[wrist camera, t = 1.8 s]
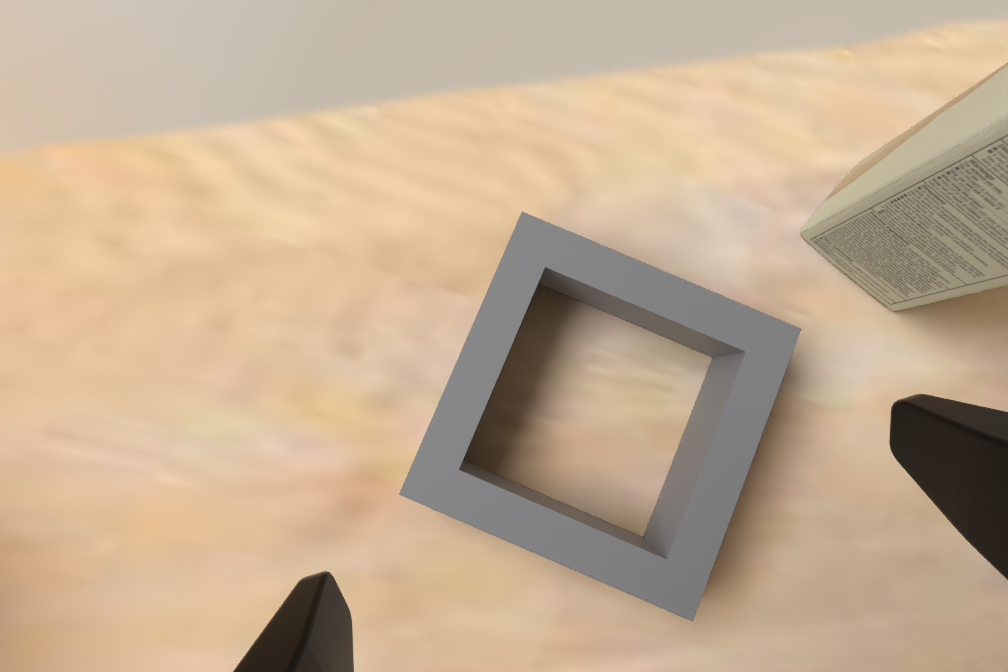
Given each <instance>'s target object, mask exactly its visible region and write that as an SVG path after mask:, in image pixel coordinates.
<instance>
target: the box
mask: <svg viewBox="0 0 1008 672" xmlns="http://www.w3.org/2000/svg"><path fill="white" fill-rule="evenodd" d="M800 234H801V236H802V237H803V238H804V239H805V240H806V241H807V242H808V243H810V244H811V245H812V246H813V247H814V248H815V249H816V250H817V251H818V252H820V253H821V254H822V255H823V256H824V257H825V258H827V259H828V260H829V261H830V262H831V263H833V264H834V265H835V266H836V267H838V268H839V269H840V270H841V271H843V272H844V273H845V274H847V275H848V276H849V277H850V278H851V279H853V280H854V281H855V282H856V283H857V284H859V285H860V286H861V287H862V288H864V289H865V290H866V291H867V292H868V293H870V294H871V295H873V296H874V297H875V298H877V299H878V300H879V301H881V302H882V303H883V304H884V305H886V306H887V307H888V308H890V309H891V310H892V311H900V310H904V309H909V308H913V307H917V306H922V305H927V304H931V303H935V302H939V301H943V300H948V299H952V298H956V297H960V296H964V295H969V294H973V293H978V292H982V291H986V290H991V289H995V288H1000V287H1004V286H1008V63H1007V64H1005V65H1004V66H1002V67H1001V68H999V69H998V70H996V71H995V72H993V73H992V74H990V75H989V76H987V77H986V78H984V79H983V80H981V81H980V82H978V83H977V84H975V85H974V86H972V87H971V88H969V89H968V90H966V91H965V92H963V93H962V94H961V95H959V96H958V97H956V98H955V99H953V100H952V101H950V102H949V103H947V104H946V105H944V106H943V107H941V108H940V109H938V110H937V111H935V112H934V113H932V114H931V115H929V116H928V117H926V118H925V119H923V120H922V121H920V122H919V123H917V124H916V125H914V126H913V127H911V128H910V129H908V130H907V131H905V132H904V133H902V134H901V135H899V136H898V137H896V138H894V139H893V140H891V141H890V142H889V143H887V144H886V145H884V146H883V147H881V148H880V149H878V150H877V151H875V152H874V153H872V154H871V155H869V156H868V157H866V158H865V159H863V160H862V161H860V162H859V163H858V164H857V166H856V167H855V168H854V169H853V170H852V171H851V172H850V173H849V174H848V175H847V176H846V177H845V178H844V180H843V181H842V182H841V183H840V184H839V185H838V186H837V187H836V188H835V190H834V191H833V192H832V193H831V194H830V195H829V196H828V198H827V199H826V200H825V201H824V202H823V203H822V205H821V206H820V207H819V208H818V209H817V211H816V212H815V213H814V214H813V215H812V217H811V218H810V219H809V220H808V221H807V223H806V224H805V225H804V226H803V228H802V229H801V231H800Z"/></svg>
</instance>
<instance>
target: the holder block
mask: <svg viewBox="0 0 1008 672" xmlns="http://www.w3.org/2000/svg"><path fill="white" fill-rule="evenodd" d="M538 284H541V285H543V286H545V287H548V288H550V289H552V290H555V291H557V292H560V293H562V294H564V295H567V296H569V297H571V298H574V299H576V300H578V301H581V302H583V303H586V304H588V305H590V306H593V307H595V308H597V309H600V310H602V311H604V312H607V313H609V314H612V315H614V316H616V317H619V318H621V319H623V320H626V321H628V322H630V323H633V324H635V325H638V326H640V327H642V328H645V329H647V330H649V331H652V332H654V333H656V334H659V335H661V336H664V337H666V338H668V339H671V340H673V341H675V342H678V343H680V344H682V345H685V346H687V347H690V348H692V349H694V350H697V351H699V352H701V353H704V354H706V355H709V356H711V357H713V358H712V361H711V364H710V366H709V369H708V371H707V374H706V377H705V379H704V382H703V384H702V387H701V390H700V392H699V395H698V397H697V400H696V402H695V405H694V408H693V410H692V413H691V415H690V418H689V421H688V423H687V426H686V428H685V431H684V434H683V436H682V439H681V441H680V444H679V446H678V449H677V452H676V454H675V457H674V459H673V462H672V465H671V467H670V470H669V472H668V475H667V478H666V480H665V483H664V485H663V488H662V490H661V493H660V496H659V498H658V501H657V503H656V506H655V509H654V511H653V514H652V516H651V519H650V522H649V524H648V527H647V529H646V532H645V534H644V537H641V536H639V535H636V534H634V533H632V532H629V531H627V530H625V529H622V528H620V527H618V526H615V525H613V524H611V523H608V522H606V521H604V520H601V519H599V518H597V517H594V516H592V515H590V514H587V513H585V512H583V511H580V510H578V509H576V508H574V507H571V506H569V505H567V504H564V503H562V502H560V501H557V500H555V499H553V498H550V497H548V496H546V495H543V494H541V493H539V492H536V491H534V490H532V489H529V488H527V487H525V486H522V485H520V484H518V483H515V482H513V481H511V480H509V479H506V478H504V477H502V476H499V475H497V474H495V473H492V472H490V471H488V470H485V469H483V468H481V467H478V466H476V465H474V464H471V463H469V462H467V461H464V460H463V459H464V457H465V454H466V452H467V450H468V447H469V445H470V442H471V440H472V438H473V435H474V433H475V431H476V428H477V426H478V424H479V421H480V419H481V417H482V414H483V412H484V410H485V407H486V405H487V403H488V400H489V398H490V395H491V393H492V391H493V388H494V386H495V384H496V381H497V379H498V377H499V374H500V372H501V370H502V367H503V365H504V363H505V360H506V358H507V356H508V353H509V351H510V348H511V346H512V344H513V341H514V339H515V337H516V334H517V332H518V330H519V327H520V325H521V323H522V320H523V318H524V316H525V313H526V311H527V309H528V306H529V304H530V301H531V299H532V297H533V294H534V292H535V290H536V287H537V285H538ZM800 331H801V329H800V328H798V327H795V326H793V325H791V324H788V323H786V322H784V321H781V320H779V319H776V318H774V317H772V316H769V315H767V314H765V313H762V312H760V311H757V310H755V309H753V308H750V307H748V306H745V305H743V304H741V303H738V302H736V301H734V300H731V299H729V298H726V297H724V296H722V295H719V294H717V293H715V292H712V291H710V290H707V289H705V288H703V287H700V286H698V285H696V284H693V283H691V282H688V281H686V280H684V279H681V278H679V277H676V276H674V275H672V274H669V273H667V272H665V271H662V270H660V269H657V268H655V267H653V266H650V265H648V264H646V263H643V262H641V261H638V260H636V259H634V258H631V257H629V256H627V255H624V254H622V253H619V252H617V251H615V250H612V249H610V248H607V247H605V246H603V245H600V244H598V243H596V242H593V241H591V240H588V239H586V238H584V237H581V236H579V235H577V234H574V233H572V232H569V231H567V230H565V229H562V228H560V227H558V226H555V225H553V224H550V223H548V222H546V221H543V220H541V219H539V218H536V217H534V216H531V215H529V214H527V213H524V212H522V213H521V215H520V217H519V220H518V222H517V224H516V227H515V229H514V231H513V233H512V236H511V238H510V240H509V243H508V245H507V247H506V250H505V252H504V254H503V256H502V259H501V261H500V263H499V266H498V268H497V270H496V273H495V275H494V277H493V279H492V282H491V284H490V286H489V289H488V291H487V293H486V296H485V298H484V300H483V302H482V305H481V307H480V309H479V312H478V314H477V316H476V319H475V321H474V323H473V325H472V328H471V330H470V332H469V335H468V337H467V339H466V342H465V344H464V346H463V348H462V351H461V353H460V355H459V358H458V360H457V362H456V365H455V367H454V369H453V371H452V374H451V376H450V378H449V381H448V383H447V385H446V388H445V390H444V392H443V394H442V397H441V399H440V401H439V404H438V406H437V408H436V411H435V413H434V415H433V417H432V420H431V422H430V424H429V427H428V429H427V431H426V434H425V436H424V438H423V440H422V443H421V445H420V447H419V450H418V452H417V454H416V457H415V459H414V461H413V463H412V466H411V468H410V470H409V473H408V475H407V477H406V480H405V482H404V484H403V486H402V489H401V491H400V493H399V495H402V496H404V497H406V498H409V499H411V500H413V501H415V502H418V503H420V504H422V505H425V506H427V507H429V508H432V509H434V510H436V511H439V512H441V513H443V514H446V515H448V516H450V517H452V518H455V519H457V520H459V521H462V522H464V523H466V524H469V525H471V526H473V527H476V528H478V529H480V530H482V531H485V532H487V533H489V534H492V535H494V536H496V537H499V538H501V539H503V540H506V541H508V542H510V543H512V544H515V545H517V546H519V547H522V548H524V549H526V550H529V551H531V552H533V553H536V554H538V555H540V556H542V557H545V558H547V559H549V560H552V561H554V562H556V563H559V564H561V565H563V566H566V567H568V568H570V569H573V570H575V571H577V572H579V573H582V574H584V575H586V576H589V577H591V578H593V579H596V580H598V581H600V582H603V583H605V584H607V585H609V586H612V587H614V588H616V589H619V590H621V591H623V592H626V593H628V594H630V595H633V596H635V597H637V598H639V599H642V600H644V601H646V602H649V603H651V604H653V605H656V606H658V607H660V608H663V609H665V610H667V611H669V612H672V613H674V614H676V615H679V616H681V617H683V618H686V619H688V620H690V621H693V619H694V616H695V614H696V611H697V608H698V605H699V603H700V600H701V597H702V595H703V592H704V589H705V587H706V584H707V581H708V579H709V576H710V573H711V570H712V568H713V565H714V562H715V560H716V557H717V554H718V552H719V549H720V546H721V544H722V541H723V538H724V535H725V533H726V530H727V527H728V525H729V522H730V519H731V517H732V514H733V511H734V509H735V506H736V503H737V501H738V498H739V495H740V492H741V490H742V487H743V484H744V482H745V479H746V476H747V474H748V471H749V468H750V466H751V463H752V460H753V457H754V455H755V452H756V449H757V447H758V444H759V441H760V439H761V436H762V433H763V431H764V428H765V425H766V422H767V420H768V417H769V414H770V412H771V409H772V406H773V404H774V401H775V398H776V396H777V393H778V390H779V387H780V385H781V382H782V379H783V377H784V374H785V371H786V369H787V366H788V363H789V361H790V358H791V355H792V353H793V350H794V347H795V344H796V342H797V339H798V336H799V334H800Z"/></svg>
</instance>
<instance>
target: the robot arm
mask: <svg viewBox="0 0 1008 672" xmlns="http://www.w3.org/2000/svg"><path fill="white" fill-rule="evenodd" d="M890 448H891V451H892V453H893V455H894V457H895V458H896V460H897V461H898V462H899V463H900V464H901V466H902V467H903V468H904V469H905V470H906V471H907V473H908V474H909V475H910V476H911V477H912V478H913V479H914V481H915V482H916V483H917V484H918V485H919V486H920V488H921V489H922V490H923V491H924V492H925V493H926V494H927V496H928V497H929V498H930V499H931V500H932V501H933V503H934V504H935V505H936V506H937V507H938V508H939V510H940V511H941V512H942V513H943V514H944V515H945V516H946V518H947V519H948V520H949V521H950V522H951V523H952V525H953V526H954V527H955V528H956V529H957V530H958V531H959V532H960V533H961V534H962V535H963V537H964V538H965V539H966V540H967V541H968V542H969V543H970V544H971V545H972V546H973V547H974V548H975V549H976V550H977V551H978V552H979V553H980V554H981V555H982V556H983V557H984V558H985V559H986V560H987V561H988V562H990V563H991V564H992V565H993V566H994V567H995V568H996V569H997V570H998V571H999V572H1000V573H1001V574H1002V575H1003V576H1004V577H1005V578H1006V579H1007V580H1008V412H1004V411H1000V410H995V409H991V408H986V407H981V406H977V405H972V404H967V403H963V402H958V401H954V400H949V399H944V398H940V397H935V396H930V395H925V394H917V395H913V396H910V397H907V398H903V399H900V400H897V401H896V402H894V404H893V406H892V408H891V423H890ZM233 672H354V663H353V634H352V619H351V614H350V610H349V608H348V605H347V603H346V601H345V599H344V597H343V595H342V593H341V591H340V589H339V587H338V585H337V583H336V581H335V579H334V577H333V576H332V574H331V573H330V572H326V571H324V572H321V573H317V574H314V575H311V576H307V577H305V578H302V579H301V580H300V581H299V582H298V583H297V585H296V586H295V587H294V589H293V590H292V591H291V593H290V594H289V596H288V597H287V598H286V600H285V601H284V602H283V604H282V605H281V607H280V608H279V609H278V611H277V612H276V613H275V615H274V616H273V618H272V619H271V620H270V622H269V623H268V624H267V626H266V627H265V629H264V630H263V631H262V633H261V634H260V635H259V637H258V638H257V640H256V641H255V642H254V644H253V645H252V646H251V648H250V649H249V651H248V652H247V653H246V655H245V656H244V657H243V659H242V660H241V662H240V663H239V664H238V666H237V667H236V668H235V670H234V671H233Z"/></svg>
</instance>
